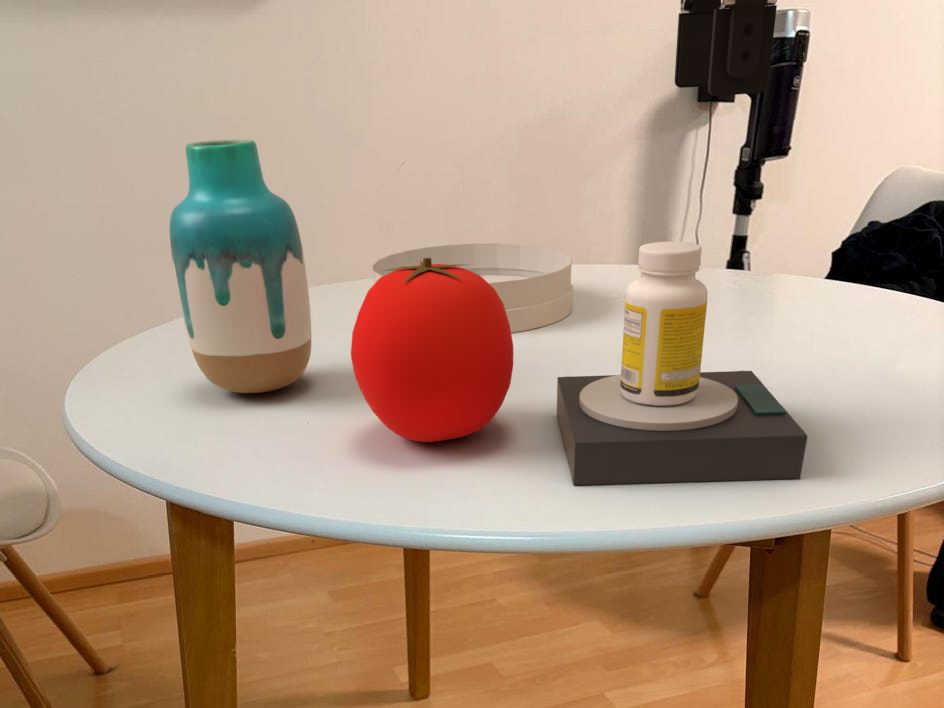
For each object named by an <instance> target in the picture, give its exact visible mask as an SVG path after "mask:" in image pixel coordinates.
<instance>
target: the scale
mask: <svg viewBox="0 0 944 708" xmlns="http://www.w3.org/2000/svg"><path fill="white" fill-rule="evenodd" d="M620 383H621V374H610V375H609V374H607V375H579V376H577V375H576V376H558V377H557V380H556V417H557V421H558V425H559V430H560V433H561V437H562V438H561V439H562V443H563V446H564V450H565V454H566V459H567V462H568V467H569V473H570V475H571V480H572V484H573V485H574V486H595V485H596V486H597V485H629V484H631V485H632V484H661V483H663V484H664V483H691V482H692V483H693V482H695V483H696V482H727V481H729V482H731V481H758V480H759V481H762V480H795V479H796V480H797V479H801V477H802V469H803V464H804V460H805V459H804V458H805V453H806V448H807V442H808V438H809V437H808V434H807V433H806V432H805V431H804V429H802V427H801V426H800V425H799V424H798V423H797V421H795V419H794V418H793V417H792V415H791V414H789V412H788V411H787V410H786V409H785V408H784V407H783V405H782V404H781V403H780V402H779V401H778V400H777V399H776V397H775V396H774V395H773V394H772V392H771V391H769V389H768V388H767V387H766V386H765V385H764V383H763V382H762V381H761V380H760V379H759V377H757V375H756V374H755V373H754V372H753V371H752V370H731V371H700V378H699V386H698V392H697V394H696V396H695V397H694V398H693V399H692V400H690V401H688V402H685V403H682V404H678V405H668V406H655V405H645V404H639V403H635V402H632V401H629V400H627V399H626V398H625V397H624V396H623V395H622V393H621V385H620Z"/></svg>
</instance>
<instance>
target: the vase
mask: <svg viewBox="0 0 944 708" xmlns="http://www.w3.org/2000/svg"><path fill="white" fill-rule="evenodd" d="M258 151H259V150H258V146H257V143H256V141H254V140H253V139H219V140H218V139H216V140H215V139H214V140H201V141H195V142H191V143H187V144H186V145H185V157H186V164H187V173H188V184H189V185H188V191H187V195H186V196H185V198H184V199H183V200H181V201H180V202H179V203H178V204H177V205H176V206H174V208H173V209H172V211H171V214H170V219H169V242H170V252H171V259H172V267H173V273H174V278H175V284H176V290H177V294H178V300H179V301H178V302H179V305H180V310H181V314H182V319H183V323H184V327H185V331H186V336H187V338H188V342H189V345H190V348H191V352H192V354H193V358H194V360H195V362H196V364H197V367H198V369H199V370H200V371H201V373H202V374H203V375H204V376H205V378H206V379H207V380H208V381H209V382H210V383H212V384H213V385H215V386H216V387H218V388H219V389H222V390H225V391H229V392H234V393H240V394H261V393H267V392H272V391H276V390H279V389H282V388H285V387H287V386H289V385H291V384H293V383H295V382H296V381H297V380H298V379H299V378H300V377H301V376H302V375H303V374H304V372H305V370H306V369H307V367H308V364H309V362H310V360H311V359H310V358H311V355H312V354H311V353H312V318H311V317H312V315H311V302H310V293H309V286H308V277H307V269H306V262H305V257H304V256H305V255H304V249H303V245H302V239H301V235H300V230H299V227H298V223H297V219H296V217H295V213H294V211H293V209H292V208H291V206H290V205H289V203H288V202H287V201H286V200H285V199H284V198H282V197H280V196H278V195H277V194H275V193H273V192H272V191H271V190H270V189H269V188H268V186H267V184H266V182H265V180H264V175H263V171H262V167H261V162H260V157H259V152H258Z"/></svg>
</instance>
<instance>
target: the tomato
mask: <svg viewBox="0 0 944 708" xmlns="http://www.w3.org/2000/svg"><path fill="white" fill-rule="evenodd" d="M420 263H421V265H419V266H411V267H400V268H395V269H390V270H395V271H393V272H391V273H389V274H387V275H385V276H383V277H381V278H379V279H378V280H377V282H376V283H375V284H374V283H373V285H372V286H371V287H370V288H369V289H368V290H367V292H366V295H365V297H364V299H363V301H362V304H361V306H360V308H359V310H358V313H357V316H356V320H355V323H354V326H353V329H352V333H351V346H350V359H351V364H352V368H353V374H354V377H355V381H356V383H357V385H358V388H359V390H360V392H361V394H362V396H363V398H364V400H365V401H366V403H367V405H368V406H369V408H370V410H371V411H372V413H373V415H375V416H376V417H377V418H378V419H379V420H380V422H381V423H382V424H383V425H384V426H385V427H386V428H387V429H389V431H391V432H393V433H394V434H396V435H398V436H399V437H402V438H404V439H406V440H410V441H415V442H422V443H436V442H441V441H442V442H443V441H447V440H448V441H449V440H453V439H459V438H463V437H466V436H468V435H471V434H474V433H476V432H478V431H480V430H482V429H484V428H485V426H486V425H488V423H490V422H491V421H492V420H493V418H494V417H495V416H496V415H497V413H498V412H499V410H500V409H501V407H502V405H503V403H504V401H505V399H506V396H507V395H508V392H509V389H510V387H511V382H512V376H513V370H514V341H513V336H512V333H511V329H510V324H509V321H508V318H507V314H506V311H505V308H504V304H503V302H502V301H501V299H500V297H499V296H498V294H497V292H496V290H495V289H494V288H493V287H492V286H491V285H490V284H489V283H488V282H487V281H485V280H484V279H483V278H482V277H481V276H479V275H477V274H475V273H473V272H470V271H468V270H466V269H463V268H461V267H457V266H461V265H447V264H431V258H423V262H422V261H420ZM471 265H472V264H471ZM396 269H397V270H396ZM385 271H389V270H385Z"/></svg>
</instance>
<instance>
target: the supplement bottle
mask: <svg viewBox="0 0 944 708" xmlns="http://www.w3.org/2000/svg"><path fill="white" fill-rule="evenodd" d="M702 249H703V247H702V246H701V245H699V244H697V243H693V242H685V241H659V242H658V241H656V242H649V243H645V244H642V245H640V247H639V248H638V259H637V270H638V272H640V278H638V279H636V280H635V281H633V282H632V283H631V284H629V286H628V287H627V289H626V292H625V300H624V316H623V331H622V332H623V335H622V351H621V366H620V367H621V368H620V375H621V383H620V385H621V393H622V395H623V396H624V397H625V398H626V399H627V400H629V401H632V402H635V403H639V404H645V405H655V406H668V405H678V404H682V403H685V402H688V401H690V400H692V399H693V398H694V397H695V396H696V394H697V392H698V386H699V378H700V372H701V366H702V359H703V347H704V338H705V337H704V336H705V329H706V327H705V326H706V317H707V310H708V309H707V306H708V289H707V286H706V285H705V284H704V283H703V282H702V281H700V279H697V278H696V273H697V272H699V271H700V266H701V264H702V262H701V261H702Z"/></svg>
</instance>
